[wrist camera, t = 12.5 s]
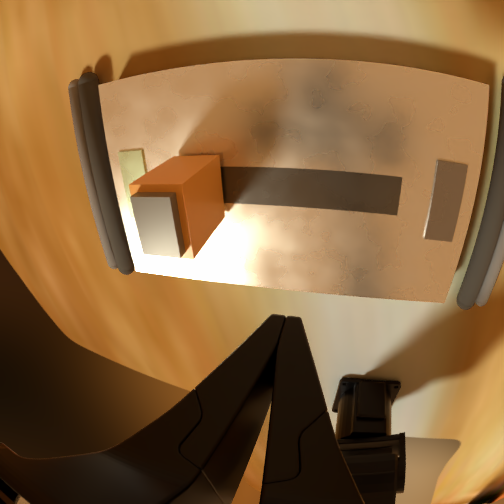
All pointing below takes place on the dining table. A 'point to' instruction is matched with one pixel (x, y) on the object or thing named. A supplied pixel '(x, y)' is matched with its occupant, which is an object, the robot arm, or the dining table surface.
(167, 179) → the block
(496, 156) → the cord
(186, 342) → the dining table surface
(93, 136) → the cord
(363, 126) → the faceplate
